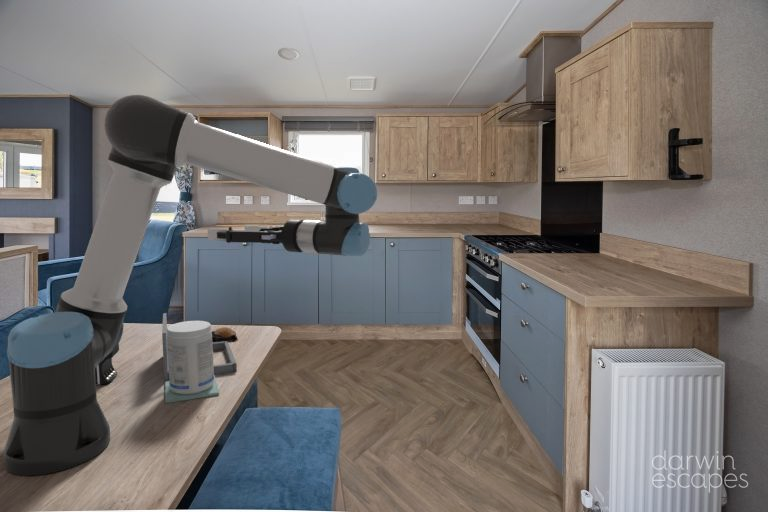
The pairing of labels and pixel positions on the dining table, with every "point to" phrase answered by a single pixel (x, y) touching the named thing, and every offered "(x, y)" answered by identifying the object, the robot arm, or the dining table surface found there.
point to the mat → (175, 397)
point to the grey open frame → (216, 346)
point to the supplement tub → (190, 357)
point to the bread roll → (224, 335)
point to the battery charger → (106, 369)
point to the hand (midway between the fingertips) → (228, 232)
